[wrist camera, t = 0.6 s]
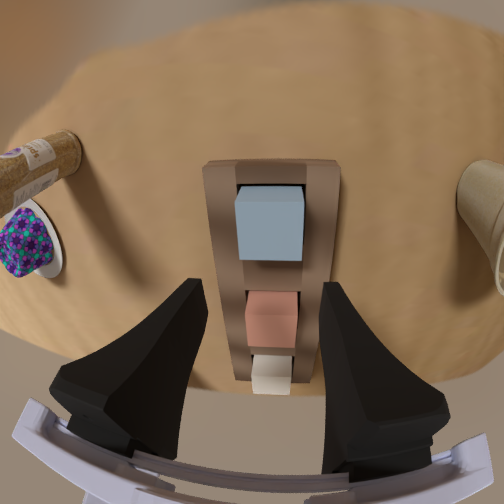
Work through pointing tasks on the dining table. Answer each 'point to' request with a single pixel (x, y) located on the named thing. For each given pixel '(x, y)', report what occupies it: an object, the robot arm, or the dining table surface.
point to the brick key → (271, 318)
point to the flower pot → (485, 211)
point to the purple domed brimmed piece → (29, 243)
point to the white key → (271, 374)
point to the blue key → (270, 222)
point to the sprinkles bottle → (36, 167)
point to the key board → (273, 271)
